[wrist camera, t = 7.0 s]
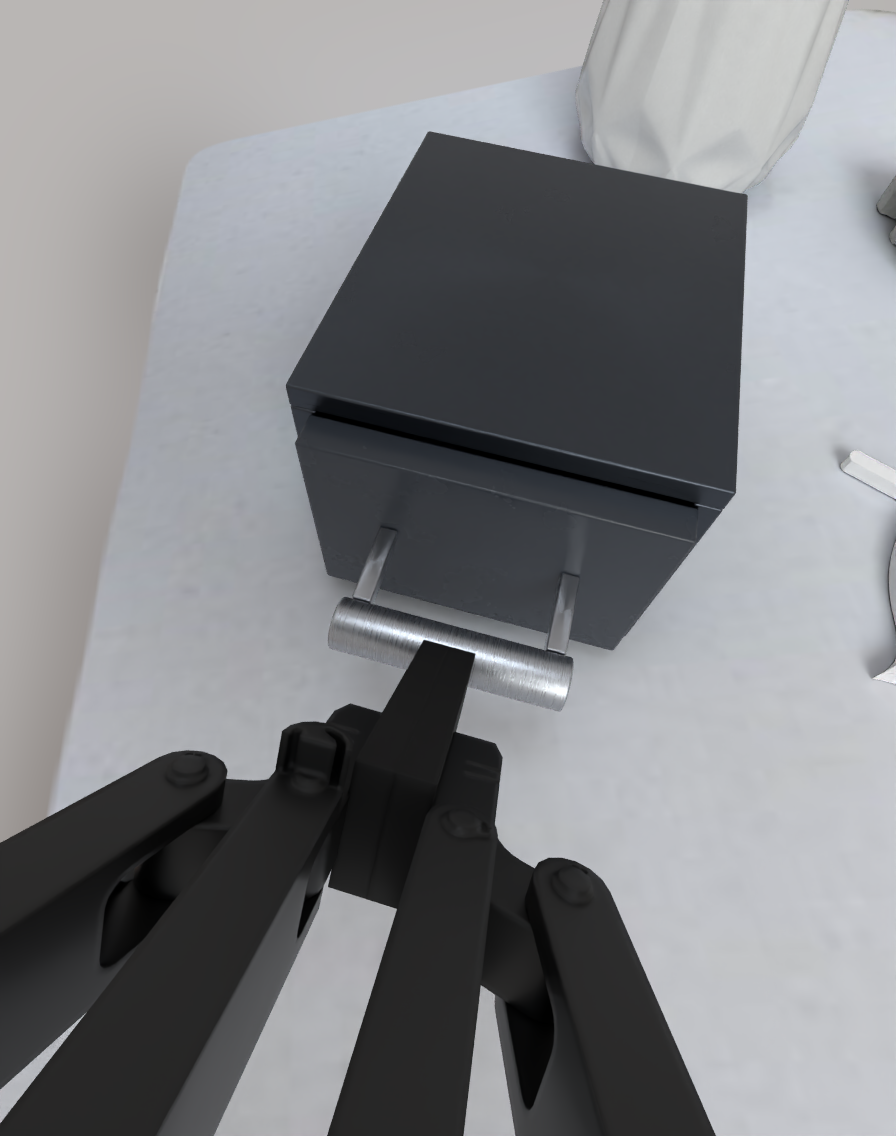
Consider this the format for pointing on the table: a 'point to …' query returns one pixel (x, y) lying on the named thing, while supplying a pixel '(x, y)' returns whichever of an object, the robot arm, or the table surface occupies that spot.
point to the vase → (703, 85)
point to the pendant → (892, 485)
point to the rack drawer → (483, 551)
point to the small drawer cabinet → (546, 321)
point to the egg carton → (889, 206)
